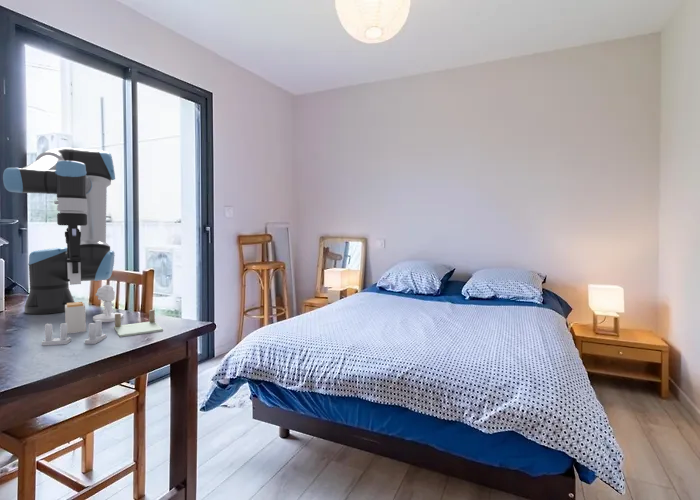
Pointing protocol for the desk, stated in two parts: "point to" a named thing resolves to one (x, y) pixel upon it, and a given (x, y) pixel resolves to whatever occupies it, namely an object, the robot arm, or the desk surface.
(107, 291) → the figurine
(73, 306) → the connector
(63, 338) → the clip
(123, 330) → the holder
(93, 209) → the robot arm
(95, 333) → the clip
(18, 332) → the desk surface
